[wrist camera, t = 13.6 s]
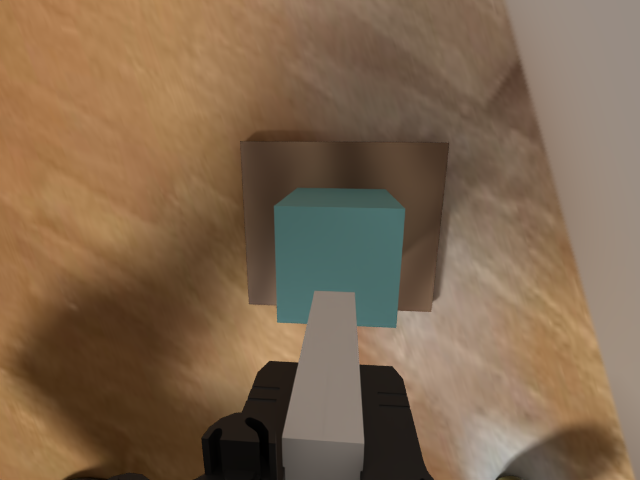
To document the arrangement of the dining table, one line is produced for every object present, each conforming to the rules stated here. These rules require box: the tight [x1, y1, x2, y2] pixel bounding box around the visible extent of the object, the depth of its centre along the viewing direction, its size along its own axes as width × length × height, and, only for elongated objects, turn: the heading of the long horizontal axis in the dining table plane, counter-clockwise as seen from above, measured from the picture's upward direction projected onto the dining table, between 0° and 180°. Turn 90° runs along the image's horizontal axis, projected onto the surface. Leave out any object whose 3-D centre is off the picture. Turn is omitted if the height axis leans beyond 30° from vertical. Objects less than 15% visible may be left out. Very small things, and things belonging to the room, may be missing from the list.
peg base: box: [240, 141, 449, 312], centre depth 25 cm, size 16×14×7 cm
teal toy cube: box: [274, 188, 405, 328], centre depth 23 cm, size 7×7×9 cm
